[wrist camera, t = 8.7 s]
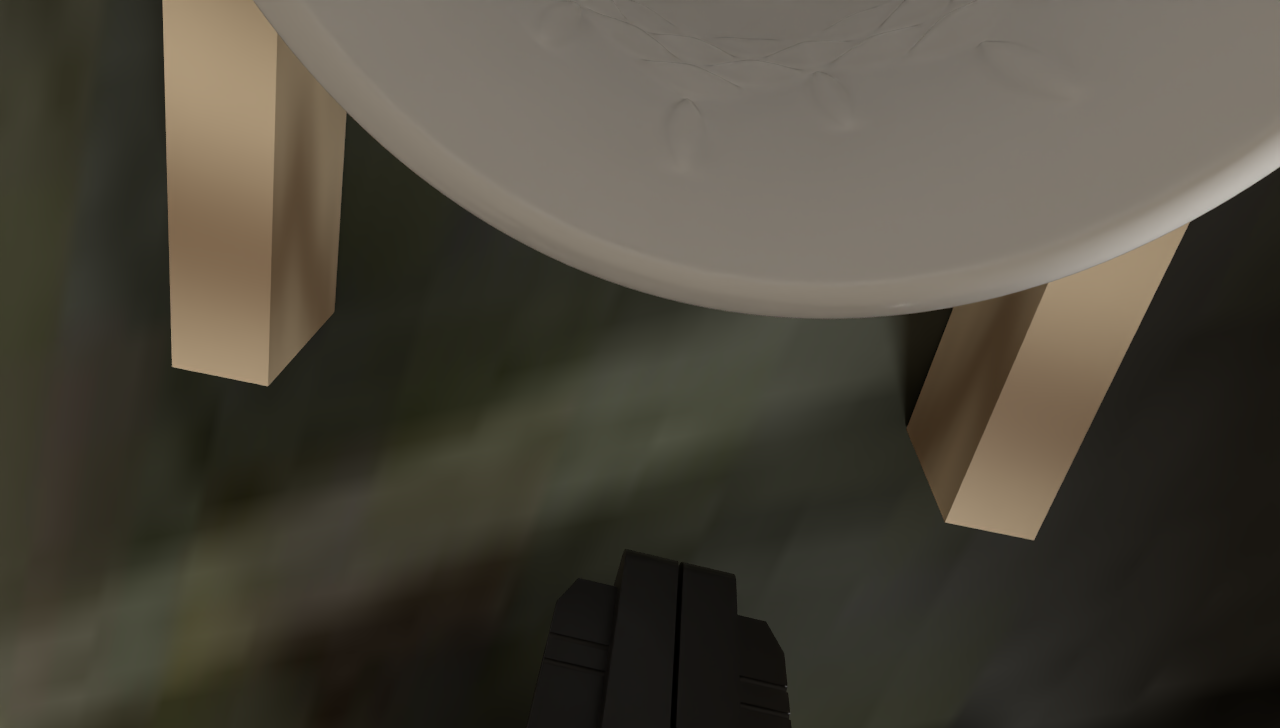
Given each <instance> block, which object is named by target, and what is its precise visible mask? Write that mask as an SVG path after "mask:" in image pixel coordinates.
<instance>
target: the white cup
mask: <svg viewBox="0 0 1280 728" xmlns="http://www.w3.org/2000/svg"><path fill="white" fill-rule="evenodd" d="M253 1H254V2H255V4H256V5H257V7H258V8H259V9H260V11H261V12H262V13H263V15H264V16H265V18H266V19H267V20H268V22H269V23H270V24H271V25H272V27H273V28H274V29H275V31H276V32H277V33H278V35H279V36H280V37H281V38H282V40H283V41H284V42H285V43H286V45H287V46H288V47H289V48H290V50H291V51H292V52H293V53H294V55H295V56H296V57H297V58H298V59H299V60H300V62H301V63H302V64H303V65H304V66H305V68H306V69H307V70H308V71H309V72H310V73H311V74H312V76H313V77H314V78H315V79H316V80H317V81H318V82H319V83H320V84H321V86H322V87H323V88H324V89H325V90H326V91H327V92H328V93H329V94H330V95H331V96H332V97H333V98H334V99H335V100H336V102H337V103H338V104H339V105H340V106H341V107H342V108H343V109H344V110H345V111H346V112H347V113H348V114H349V115H350V116H351V117H352V118H353V119H354V120H355V121H356V122H357V123H358V124H359V125H361V126H362V127H363V128H364V129H365V130H366V131H367V132H368V133H369V134H370V135H371V136H372V137H373V138H374V139H376V140H377V141H378V142H379V143H380V144H381V145H382V146H383V147H385V148H386V149H387V150H388V151H389V152H390V153H391V154H393V155H394V156H395V157H396V158H397V159H399V160H400V161H401V162H402V163H403V164H405V165H406V166H407V167H408V168H410V169H411V170H412V171H413V172H414V173H416V174H417V175H418V176H420V177H421V178H422V179H424V180H425V181H426V182H427V183H429V184H430V185H431V186H433V187H434V188H435V189H437V190H438V191H440V192H441V193H442V194H444V195H445V196H447V197H448V198H449V199H451V200H452V201H454V202H455V203H457V204H458V205H460V206H461V207H463V208H464V209H466V210H467V211H469V212H470V213H472V214H473V215H475V216H476V217H478V218H480V219H481V220H483V221H484V222H486V223H488V224H489V225H491V226H493V227H494V228H496V229H498V230H500V231H501V232H503V233H505V234H507V235H508V236H510V237H512V238H514V239H516V240H517V241H519V242H521V243H523V244H525V245H527V246H529V247H531V248H533V249H535V250H537V251H539V252H541V253H543V254H545V255H547V256H549V257H551V258H553V259H555V260H558V261H560V262H562V263H564V264H567V265H569V266H571V267H574V268H576V269H578V270H581V271H583V272H586V273H588V274H591V275H593V276H596V277H598V278H601V279H604V280H607V281H610V282H612V283H615V284H618V285H621V286H624V287H627V288H630V289H633V290H637V291H640V292H643V293H647V294H650V295H654V296H658V297H661V298H665V299H669V300H673V301H677V302H681V303H686V304H690V305H695V306H700V307H705V308H710V309H716V310H722V311H728V312H735V313H742V314H750V315H759V316H769V317H782V318H800V319H853V318H872V317H885V316H896V315H904V314H913V313H920V312H927V311H934V310H940V309H946V308H952V307H957V306H962V305H967V304H972V303H976V302H981V301H985V300H989V299H993V298H998V297H1002V296H1005V295H1009V294H1013V293H1016V292H1020V291H1024V290H1027V289H1030V288H1034V287H1037V286H1040V285H1043V284H1046V283H1050V282H1053V281H1056V280H1059V279H1061V278H1064V277H1067V276H1070V275H1073V274H1076V273H1078V272H1081V271H1084V270H1086V269H1089V268H1092V267H1094V266H1097V265H1099V264H1102V263H1104V262H1107V261H1109V260H1111V259H1114V258H1116V257H1118V256H1121V255H1123V254H1125V253H1128V252H1130V251H1132V250H1134V249H1136V248H1139V247H1141V246H1143V245H1145V244H1147V243H1149V242H1151V241H1153V240H1155V239H1158V238H1160V237H1162V236H1164V235H1166V234H1168V233H1170V232H1172V231H1174V230H1175V229H1177V228H1179V227H1181V226H1183V225H1185V224H1187V223H1189V222H1191V221H1192V220H1194V219H1196V218H1198V217H1200V216H1202V215H1203V214H1205V213H1207V212H1209V211H1210V210H1212V209H1214V208H1216V207H1217V206H1219V205H1221V204H1222V203H1224V202H1226V201H1228V200H1229V199H1231V198H1233V197H1234V196H1236V195H1237V194H1239V193H1241V192H1242V191H1244V190H1246V189H1247V188H1249V187H1250V186H1252V185H1253V184H1255V183H1257V182H1258V181H1260V180H1261V179H1263V178H1264V177H1266V176H1267V175H1269V174H1270V173H1272V172H1273V171H1275V170H1276V169H1278V168H1279V167H1280V0H253Z"/></svg>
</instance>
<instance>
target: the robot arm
mask: <svg viewBox="0 0 1280 728" xmlns="http://www.w3.org/2000/svg"><path fill="white" fill-rule="evenodd" d="M786 690H787V677H786V667H785V657H784V652H783V651H782V649H781V647H780V645H779V644H778V642H777V640H776V638H775V637H774V635H773V633H772V631H771V629H770V628H769V626H768V624H767V622H765V621H761V620H757V619H752V618H748V617H744V616H740V615H737V592H736V578H735V575H734V574H731V573H727V572H722V571H718V570H714V569H710V568H705V567H701V566H697V565H693V564H688V563H684V562H681V563H680V565H679V567H678V561H675V560H670V559H666V558H662V557H658V556H653V555H649V554H645V553H641V552H636V551H632V550H628V549H625V550H624V553H623V556H622V559H621V562H620V566H619V569H618V573H617V576H616V580H615V583H614V586H610V585H606V584H602V583H597V582H593V581H589V580H585V579H580V578H578V579H577V580H576V581H575V582H574V584H573V585H572V586H571V587H570V588H569V589H568V590H567V591H566V592H565V593H564V594H563V595H562V596H561V597H560V598H559V599H558V600H557V603H556V607H555V611H554V615H553V619H552V623H551V627H550V631H549V635H548V639H547V643H546V647H545V651H544V655H543V659H542V663H541V667H540V671H539V675H538V679H537V683H536V687H535V692H534V696H533V700H532V704H531V709H530V713H529V717H528V722H527V726H526V728H791V720H789V715H790V708H789V698H788V693H787V692H786Z"/></svg>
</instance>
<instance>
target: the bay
mask: <svg viewBox="0 0 1280 728" xmlns="http://www.w3.org/2000/svg"><path fill="white" fill-rule="evenodd" d="M163 35H164V73H165V111H166V149H167V187H168V225H169V263H170V301H171V339H172V367H175V368H180V369H185V370H190V371H195V372H200V373H205V374H210V375H215V376H220V377H225V378H230V379H235V380H240V381H245V382H250V383H255V384H260V385H265V386H269V385H270V383H271V382H272V381H273V380H274V379H275V378H276V377H277V376H278V374H279V373H280V372H281V371H282V370H283V369H284V368H285V367H286V366H287V364H288V363H289V362H290V361H291V360H292V359H293V358H294V357H295V355H296V354H297V353H298V352H299V351H300V350H301V349H302V348H303V346H304V345H305V344H306V343H307V342H308V341H309V340H310V339H311V337H312V336H313V335H314V334H315V333H316V332H317V331H318V330H319V328H320V327H321V326H322V325H323V324H324V323H325V322H326V321H327V319H328V318H329V317H330V316H331V315H332V314H333V313H334V311H335V294H336V278H337V261H338V245H339V228H340V212H341V195H342V178H343V162H344V145H345V129H346V111H345V110H344V109H343V108H342V107H341V106H340V105H339V104H338V103H337V102H336V100H335V99H334V98H333V97H332V96H331V95H330V94H329V93H328V92H327V91H326V90H325V89H324V88H323V87H322V86H321V84H320V83H319V82H318V81H317V80H316V79H315V78H314V77H313V76H312V74H311V73H310V72H309V71H308V70H307V69H306V68H305V66H304V65H303V64H302V63H301V62H300V60H299V59H298V58H297V57H296V56H295V55H294V53H293V52H292V51H291V50H290V48H289V47H288V46H287V45H286V43H285V42H284V41H283V40H282V38H281V37H280V36H279V35H278V33H277V32H276V31H275V29H274V28H273V27H272V25H271V24H270V23H269V22H268V20H267V19H266V18H265V16H264V15H263V13H262V12H261V11H260V9H259V8H258V7H257V5H256V4H255V2H254V1H253V0H163ZM1189 223H1190V222H1189ZM1189 223H1187V224H1185V225H1183V226H1181V227H1179V228H1177V229H1175V230H1174V231H1172V232H1170V233H1168V234H1166V235H1164V236H1162V237H1160V238H1158V239H1155V240H1153V241H1151V242H1149V243H1147V244H1145V245H1143V246H1141V247H1139V248H1136V249H1134V250H1132V251H1130V252H1128V253H1125V254H1123V255H1121V256H1118V257H1116V258H1114V259H1111V260H1109V261H1107V262H1104V263H1102V264H1099V265H1097V266H1094V267H1092V268H1089V269H1086V270H1084V271H1081V272H1078V273H1076V274H1073V275H1070V276H1067V277H1064V278H1061V279H1059V280H1056V281H1053V282H1050V283H1046V284H1043V285H1040V286H1037V287H1034V288H1030V289H1027V290H1024V291H1020V292H1016V293H1013V294H1009V295H1005V296H1002V297H998V298H993V299H989V300H985V301H981V302H976V303H972V304H967V305H962V306H957V307H953V310H952V313H951V315H950V318H949V320H948V323H947V325H946V328H945V331H944V333H943V336H942V338H941V341H940V344H939V346H938V349H937V351H936V354H935V356H934V359H933V362H932V364H931V367H930V369H929V372H928V375H927V377H926V380H925V382H924V385H923V387H922V390H921V393H920V395H919V398H918V400H917V403H916V406H915V408H914V411H913V413H912V416H911V418H910V421H909V424H908V426H907V429H906V430H907V432H908V434H909V437H910V439H911V442H912V444H913V446H914V449H915V451H916V454H917V456H918V459H919V461H920V463H921V466H922V468H923V471H924V473H925V475H926V478H927V480H928V483H929V485H930V487H931V490H932V492H933V495H934V497H935V500H936V502H937V504H938V507H939V509H940V512H941V514H942V516H943V519H944V521H945V522H946V523H951V524H956V525H960V526H965V527H970V528H975V529H980V530H985V531H990V532H995V533H1000V534H1005V535H1010V536H1015V537H1020V538H1025V539H1030V540H1034V539H1035V537H1036V535H1037V533H1038V531H1039V529H1040V527H1041V525H1042V523H1043V521H1044V519H1045V517H1046V514H1047V512H1048V510H1049V508H1050V506H1051V504H1052V502H1053V500H1054V498H1055V496H1056V494H1057V492H1058V490H1059V488H1060V486H1061V484H1062V482H1063V480H1064V478H1065V476H1066V474H1067V472H1068V470H1069V468H1070V466H1071V463H1072V461H1073V459H1074V457H1075V455H1076V453H1077V451H1078V449H1079V447H1080V445H1081V443H1082V441H1083V439H1084V437H1085V435H1086V433H1087V431H1088V429H1089V427H1090V425H1091V423H1092V421H1093V419H1094V417H1095V415H1096V412H1097V410H1098V408H1099V406H1100V404H1101V402H1102V400H1103V398H1104V396H1105V394H1106V392H1107V390H1108V388H1109V386H1110V384H1111V382H1112V380H1113V378H1114V376H1115V374H1116V372H1117V370H1118V368H1119V366H1120V364H1121V362H1122V359H1123V357H1124V355H1125V353H1126V351H1127V349H1128V347H1129V345H1130V343H1131V341H1132V339H1133V337H1134V335H1135V333H1136V331H1137V329H1138V327H1139V325H1140V323H1141V321H1142V319H1143V317H1144V315H1145V313H1146V311H1147V308H1148V306H1149V304H1150V302H1151V300H1152V298H1153V296H1154V294H1155V292H1156V290H1157V288H1158V286H1159V284H1160V282H1161V280H1162V278H1163V276H1164V274H1165V272H1166V270H1167V268H1168V266H1169V264H1170V262H1171V260H1172V257H1173V255H1174V253H1175V251H1176V249H1177V247H1178V245H1179V243H1180V241H1181V239H1182V237H1183V235H1184V233H1185V231H1186V229H1187V227H1188V225H1189Z"/></svg>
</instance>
